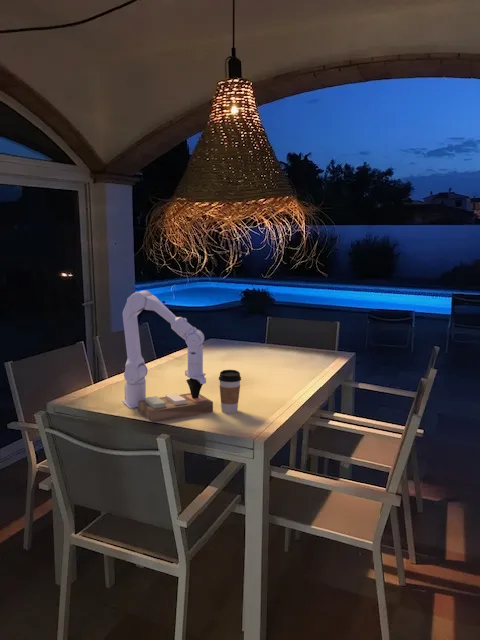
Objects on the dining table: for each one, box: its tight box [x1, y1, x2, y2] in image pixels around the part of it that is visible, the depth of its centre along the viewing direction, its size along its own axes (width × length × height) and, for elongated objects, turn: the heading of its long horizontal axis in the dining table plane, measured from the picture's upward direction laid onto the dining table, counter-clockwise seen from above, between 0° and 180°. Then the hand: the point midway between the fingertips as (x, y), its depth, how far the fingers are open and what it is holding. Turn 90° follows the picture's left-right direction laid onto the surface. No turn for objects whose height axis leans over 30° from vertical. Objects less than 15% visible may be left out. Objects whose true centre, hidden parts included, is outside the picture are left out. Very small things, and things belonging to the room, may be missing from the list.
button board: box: [137, 392, 214, 423], centre depth 199 cm, size 14×24×4 cm, turn 120°
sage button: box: [145, 396, 166, 409], centre depth 195 cm, size 9×4×4 cm, turn 30°
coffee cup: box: [218, 369, 242, 415], centre depth 199 cm, size 8×8×15 cm
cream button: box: [164, 393, 186, 406], centre depth 199 cm, size 9×4×4 cm, turn 30°
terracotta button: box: [185, 395, 206, 402], centre depth 203 cm, size 9×4×4 cm, turn 30°
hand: (195, 397), depth 202 cm, fingers closed, pressing on terracotta button
